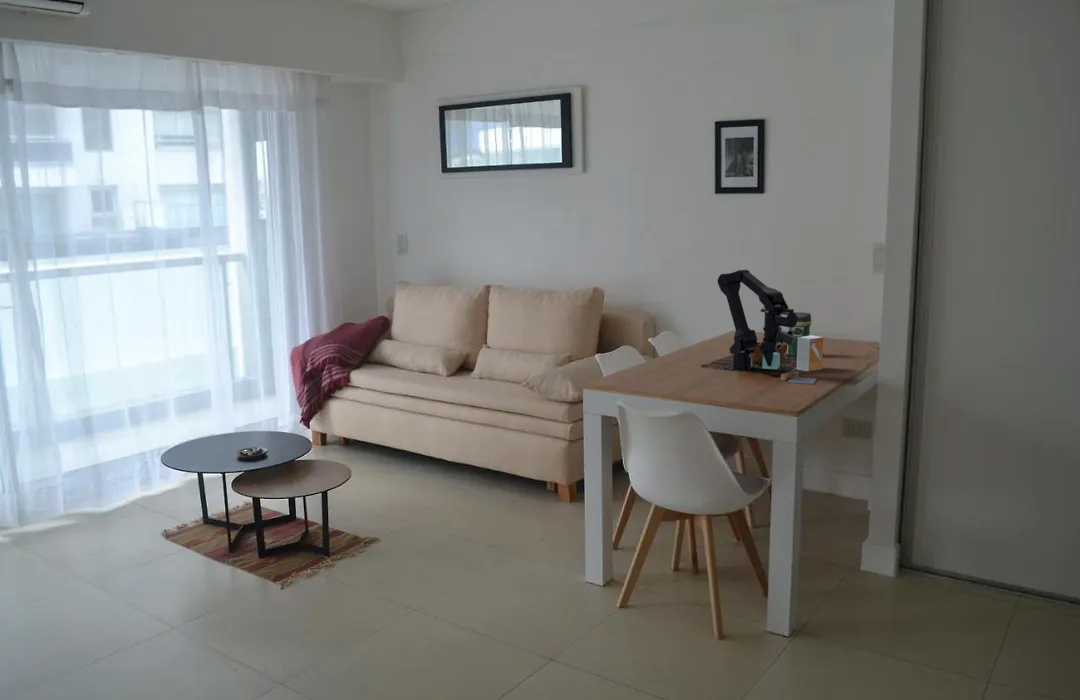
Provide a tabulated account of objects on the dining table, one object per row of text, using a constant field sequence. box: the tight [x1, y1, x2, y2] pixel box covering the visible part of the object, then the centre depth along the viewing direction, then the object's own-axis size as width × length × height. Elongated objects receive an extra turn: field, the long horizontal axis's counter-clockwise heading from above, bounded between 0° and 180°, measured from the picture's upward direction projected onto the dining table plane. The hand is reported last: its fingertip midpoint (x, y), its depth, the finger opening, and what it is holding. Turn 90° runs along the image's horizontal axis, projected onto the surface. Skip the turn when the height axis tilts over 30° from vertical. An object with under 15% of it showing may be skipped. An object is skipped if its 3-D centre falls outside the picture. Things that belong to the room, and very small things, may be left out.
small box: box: [796, 334, 824, 372], centre depth 353 cm, size 8×6×13 cm
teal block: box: [761, 351, 781, 370], centre depth 343 cm, size 6×6×6 cm
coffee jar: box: [786, 311, 812, 357], centre depth 383 cm, size 10×8×19 cm
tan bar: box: [780, 371, 800, 382], centre depth 337 cm, size 8×2×2 cm, turn 125°
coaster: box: [787, 376, 817, 385], centre depth 332 cm, size 9×9×1 cm
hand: (771, 364), depth 344 cm, fingers closed on teal block, 5 cm apart
